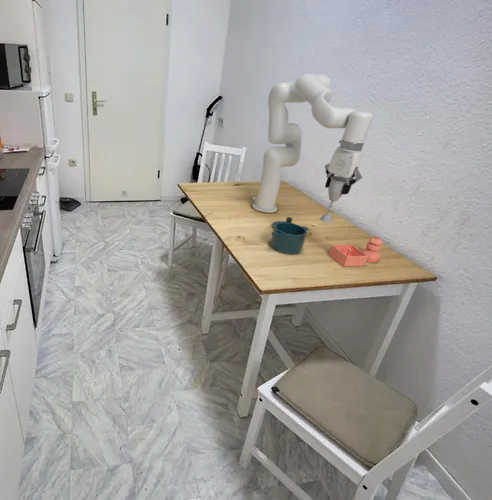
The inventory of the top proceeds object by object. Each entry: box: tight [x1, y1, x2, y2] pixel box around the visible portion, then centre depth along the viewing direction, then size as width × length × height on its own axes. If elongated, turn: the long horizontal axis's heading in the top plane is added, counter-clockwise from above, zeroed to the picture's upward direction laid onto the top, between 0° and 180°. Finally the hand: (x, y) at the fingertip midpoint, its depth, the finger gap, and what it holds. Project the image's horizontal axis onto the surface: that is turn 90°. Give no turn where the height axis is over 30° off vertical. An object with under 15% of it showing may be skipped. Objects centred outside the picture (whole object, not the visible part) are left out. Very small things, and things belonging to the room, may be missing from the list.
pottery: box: [328, 235, 384, 267], centre depth 141 cm, size 18×10×10 cm, turn 99°
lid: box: [271, 216, 298, 229], centre depth 165 cm, size 13×13×6 cm
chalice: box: [319, 175, 346, 224], centre depth 147 cm, size 7×7×18 cm
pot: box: [269, 222, 309, 255], centre depth 148 cm, size 12×18×8 cm
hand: (336, 190), depth 145 cm, fingers closed on chalice, 7 cm apart
